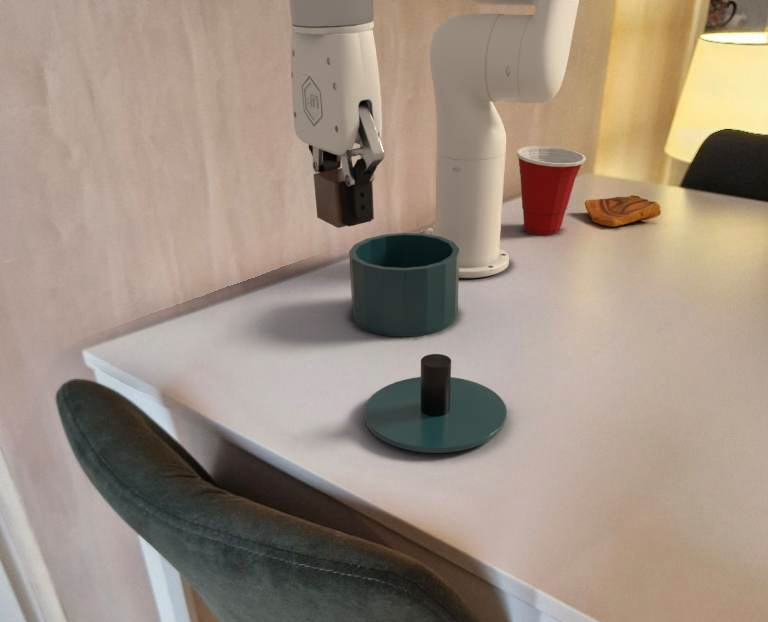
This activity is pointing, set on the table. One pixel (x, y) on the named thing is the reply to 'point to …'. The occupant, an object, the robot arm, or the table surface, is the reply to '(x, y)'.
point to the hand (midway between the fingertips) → (345, 215)
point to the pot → (404, 284)
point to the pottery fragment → (621, 210)
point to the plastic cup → (546, 186)
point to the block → (331, 196)
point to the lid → (435, 411)
